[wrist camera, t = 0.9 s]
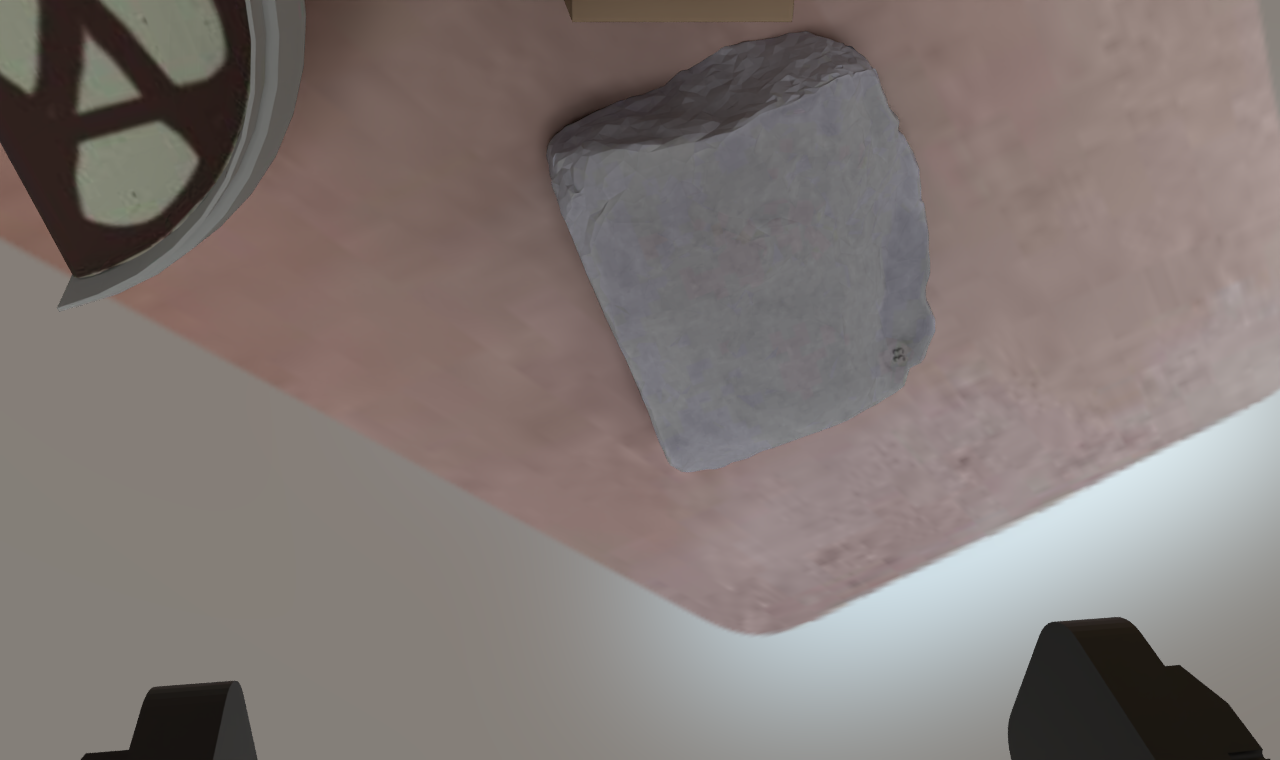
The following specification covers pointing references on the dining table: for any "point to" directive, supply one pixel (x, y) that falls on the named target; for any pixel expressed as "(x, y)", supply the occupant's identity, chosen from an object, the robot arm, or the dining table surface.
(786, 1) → the walnut block
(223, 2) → the food container
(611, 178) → the stone block
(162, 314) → the dining table surface
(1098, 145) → the dining table surface
